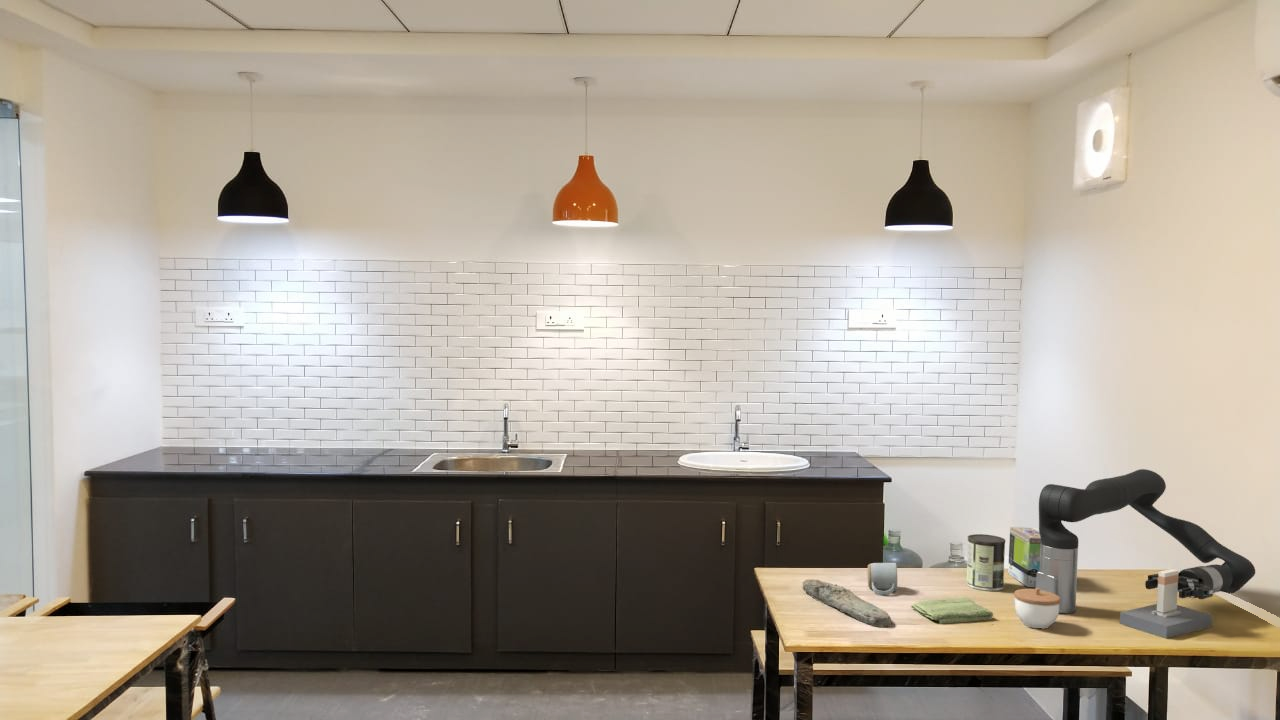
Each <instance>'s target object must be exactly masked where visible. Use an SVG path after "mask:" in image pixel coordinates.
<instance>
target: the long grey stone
mask: <svg viewBox="0 0 1280 720" xmlns="http://www.w3.org/2000/svg"><path fill="white" fill-rule="evenodd" d="M802 590H803V591H805V592H806V593H807V594H808V595H809V596H810V597H812V598H813V599H815V601H818V602H820V603H823V604H825V605H827V606H830V607H834V608H836V609H837V610H839V611H840V612H841V613H846V614H848V615H849V616H851V617H852V618H854V619H856V620H857V621H859V622H862V623H865V624H867V625H871V626H874V627H879V628H885V627H887V628H888V627H890V625H891V624H892V618H891V615H890V614H889V613H888V612H887V611H886V610H884V609H882V608H880V607H877V605H874V604H873V603H871V602H868V601H866V600H864V599H862V598H861V597H859V596H857V595H856V594H854V593H853V592H852V591H851V590H850V589H849V588H848V589H847V588H846V587H843V586H840V585H838V584H836V583H835V584H833V583H831V582H830V583H829V582H825V581H823V580H819V579H812V578H811V579H804V581H803V582H802Z"/></svg>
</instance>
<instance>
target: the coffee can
mask: <svg viewBox="0 0 1280 720" xmlns="http://www.w3.org/2000/svg"><path fill="white" fill-rule="evenodd" d="M1005 550H1006V539H1005V538H1003V537H1001V536H998V535H997V536H996V535H994V534H993V535H991V534H982V533H980V534H979V533H976V534H974V533H973V534H971V535H970V534H969V535H968V536H967V561H966V562H967V563H966V564H967V565H966V583H965V584H966V585H967V586H968V587H969V588H972V589H975V590H980V591H988V592H996V591H1002V590H1003V589H1004V587H1005V586H1004V582H1005V581H1004V579H1005V578H1004V577H1005V576H1004V575H1005Z"/></svg>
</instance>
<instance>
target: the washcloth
mask: <svg viewBox="0 0 1280 720" xmlns="http://www.w3.org/2000/svg"><path fill="white" fill-rule="evenodd" d="M910 608H911V609H913V610H914V611H916V612H917V613H919V614H921V615H922V616H925V618H926V617H927V618H929V619H931V620H933V621H935V622H936V623H938V624H939V625H946V624H948V625H949V624H956V623H957V624H959V623H968V622H979V621H990V620H991V619H993V617H994V613H993V612H992V611H991V610H989V609H988V608H986V607H983V606H982V605H979V604H977V603H976V602H975V601H974V600H973V599H970V598H969V597H967V596H959V597H956V598H944V599H943V598H941V599H932V600H921V601H917V602H915V603H913V604H912V605H911V607H910Z"/></svg>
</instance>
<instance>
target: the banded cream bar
mask: <svg viewBox="0 0 1280 720" xmlns="http://www.w3.org/2000/svg"><path fill="white" fill-rule="evenodd" d="M1178 573H1179V570H1178V569H1175V568H1174V569H1173V568H1170V569H1165V570H1161V571H1158V573H1157V574H1158V588H1157V597H1156V598H1157V600H1156V604H1157V614H1156V615H1159V616H1162V617H1163V615H1165V614H1169V613H1173V612H1176V611H1177V605H1178V592H1177V591H1178Z"/></svg>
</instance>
